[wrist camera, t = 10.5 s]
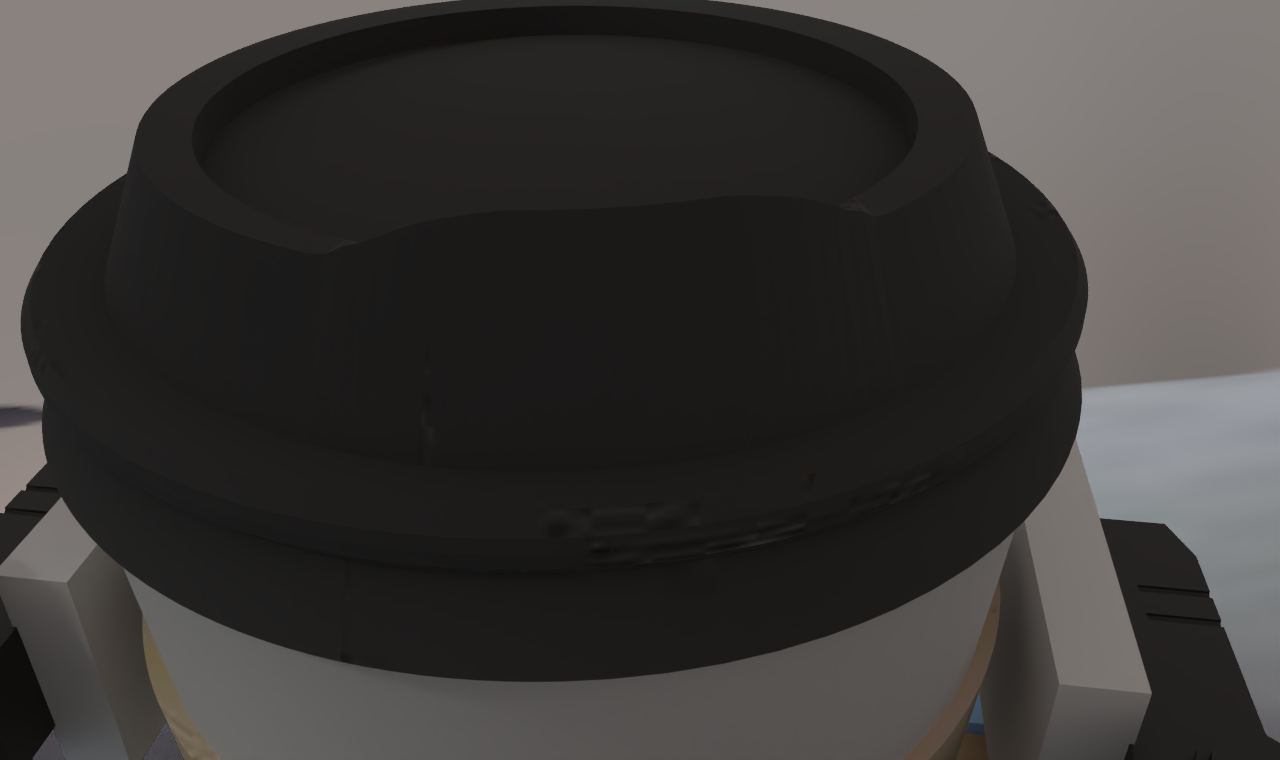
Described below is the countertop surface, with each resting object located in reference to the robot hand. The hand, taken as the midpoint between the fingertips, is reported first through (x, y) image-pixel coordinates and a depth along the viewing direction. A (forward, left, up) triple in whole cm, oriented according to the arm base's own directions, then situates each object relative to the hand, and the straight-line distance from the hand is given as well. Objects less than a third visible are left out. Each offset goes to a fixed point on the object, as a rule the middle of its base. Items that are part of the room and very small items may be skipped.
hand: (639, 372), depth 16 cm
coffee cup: (0, -5, -9) cm, 10 cm away
